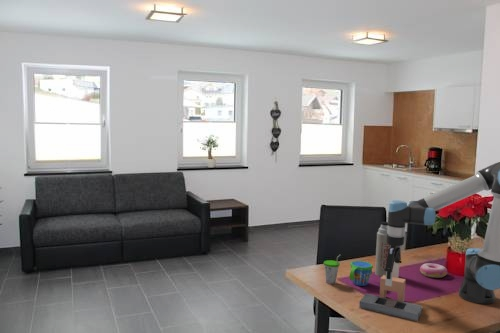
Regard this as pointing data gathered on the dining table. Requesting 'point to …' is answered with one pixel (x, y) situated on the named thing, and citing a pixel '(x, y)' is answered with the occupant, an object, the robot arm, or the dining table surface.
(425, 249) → the dining table surface
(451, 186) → the robot arm
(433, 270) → the donut
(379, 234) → the thermos bottle
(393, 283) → the tan bridge block
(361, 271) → the snack cup
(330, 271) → the cup
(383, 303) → the rail
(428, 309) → the dining table surface
